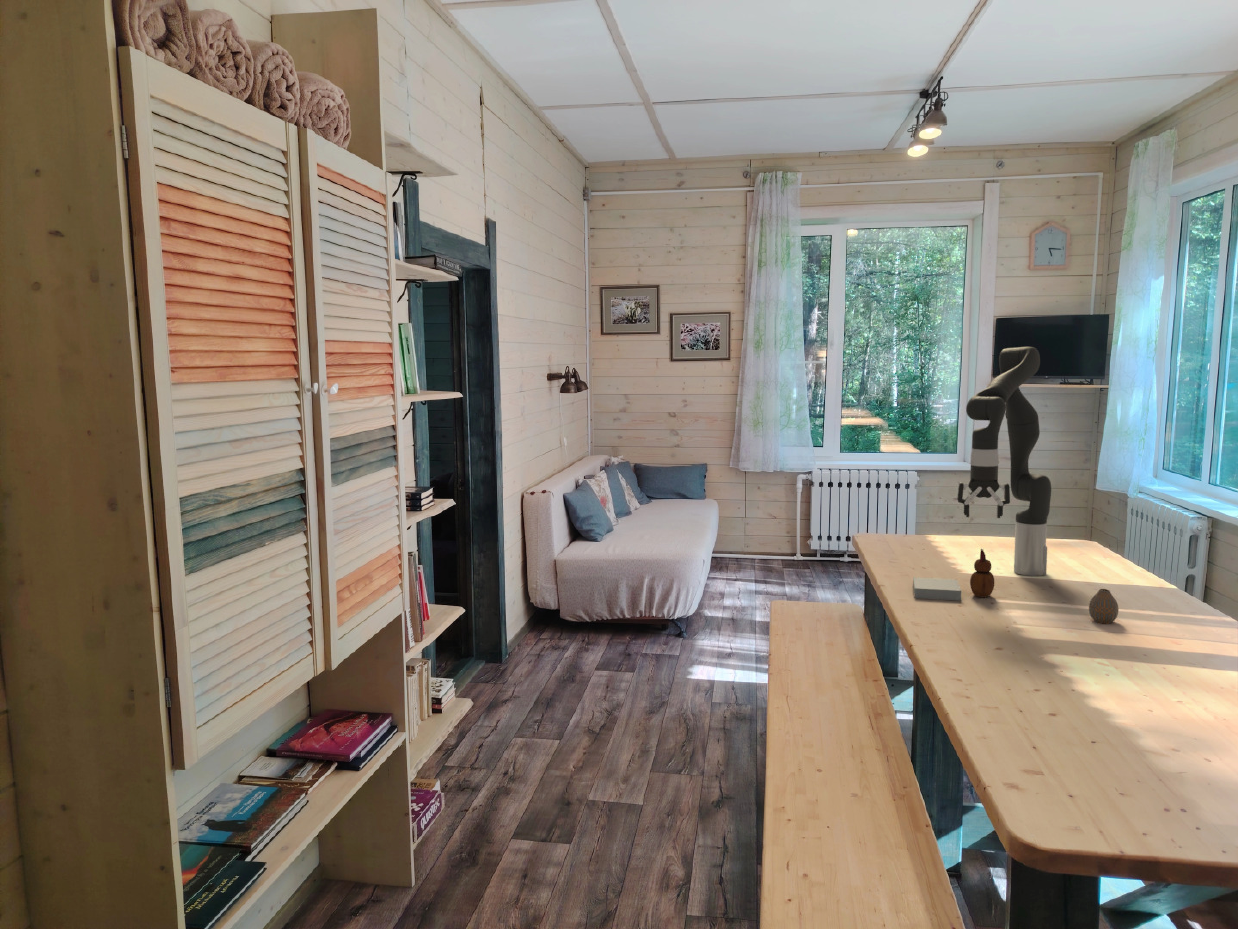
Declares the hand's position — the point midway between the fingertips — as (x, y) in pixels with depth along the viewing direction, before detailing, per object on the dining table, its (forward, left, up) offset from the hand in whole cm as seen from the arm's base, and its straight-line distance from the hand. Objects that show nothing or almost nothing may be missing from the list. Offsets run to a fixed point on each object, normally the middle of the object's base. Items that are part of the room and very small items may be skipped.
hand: (982, 517), depth 243 cm
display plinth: (+13, 0, -24) cm, 27 cm away
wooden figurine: (0, 0, -24) cm, 24 cm away
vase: (-28, +19, -24) cm, 42 cm away
